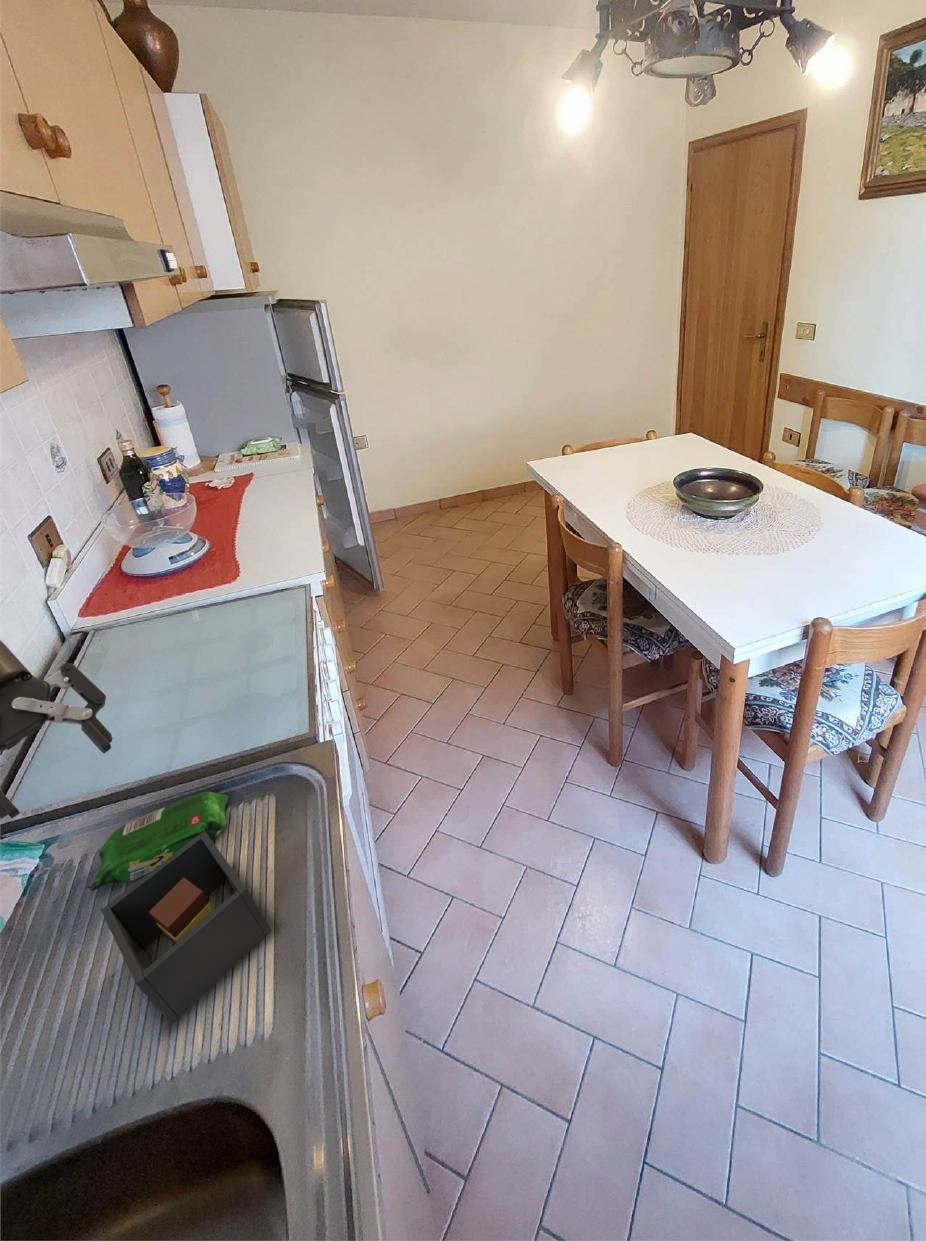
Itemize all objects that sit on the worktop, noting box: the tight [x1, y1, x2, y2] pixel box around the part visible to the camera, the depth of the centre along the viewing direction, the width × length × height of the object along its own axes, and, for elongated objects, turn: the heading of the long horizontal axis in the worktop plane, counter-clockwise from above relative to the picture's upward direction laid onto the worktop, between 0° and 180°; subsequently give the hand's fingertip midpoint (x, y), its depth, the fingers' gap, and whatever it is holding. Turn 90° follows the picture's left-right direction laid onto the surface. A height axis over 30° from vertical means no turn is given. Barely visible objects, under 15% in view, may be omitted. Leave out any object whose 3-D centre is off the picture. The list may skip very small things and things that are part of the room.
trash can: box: [100, 831, 272, 1025], centre depth 64 cm, size 11×11×10 cm
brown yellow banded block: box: [149, 878, 216, 945], centre depth 64 cm, size 4×4×8 cm
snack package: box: [86, 791, 229, 892], centre depth 76 cm, size 7×16×5 cm, turn 118°
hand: (64, 780), depth 60 cm, fingers open, 8 cm apart
